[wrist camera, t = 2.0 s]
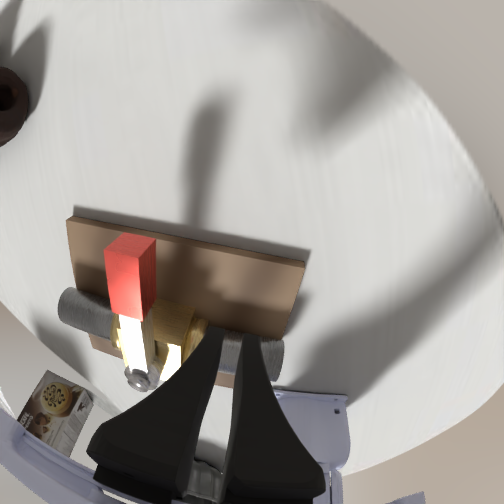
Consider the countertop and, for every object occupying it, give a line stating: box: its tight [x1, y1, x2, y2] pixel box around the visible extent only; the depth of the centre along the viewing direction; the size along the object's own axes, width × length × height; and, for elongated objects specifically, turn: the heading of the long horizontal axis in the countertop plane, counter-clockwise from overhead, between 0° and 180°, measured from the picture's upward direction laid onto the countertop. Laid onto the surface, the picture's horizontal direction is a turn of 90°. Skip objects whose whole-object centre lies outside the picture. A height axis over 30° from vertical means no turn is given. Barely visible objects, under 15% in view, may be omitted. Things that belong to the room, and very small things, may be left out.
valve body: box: [58, 287, 284, 382], centre depth 21 cm, size 20×5×5 cm, turn 80°
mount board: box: [66, 216, 305, 388], centre depth 23 cm, size 20×16×1 cm
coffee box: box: [17, 370, 93, 457], centre depth 28 cm, size 9×6×16 cm
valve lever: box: [104, 232, 164, 392], centre depth 15 cm, size 12×3×3 cm, turn 170°
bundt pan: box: [176, 460, 222, 504], centre depth 41 cm, size 26×26×10 cm
